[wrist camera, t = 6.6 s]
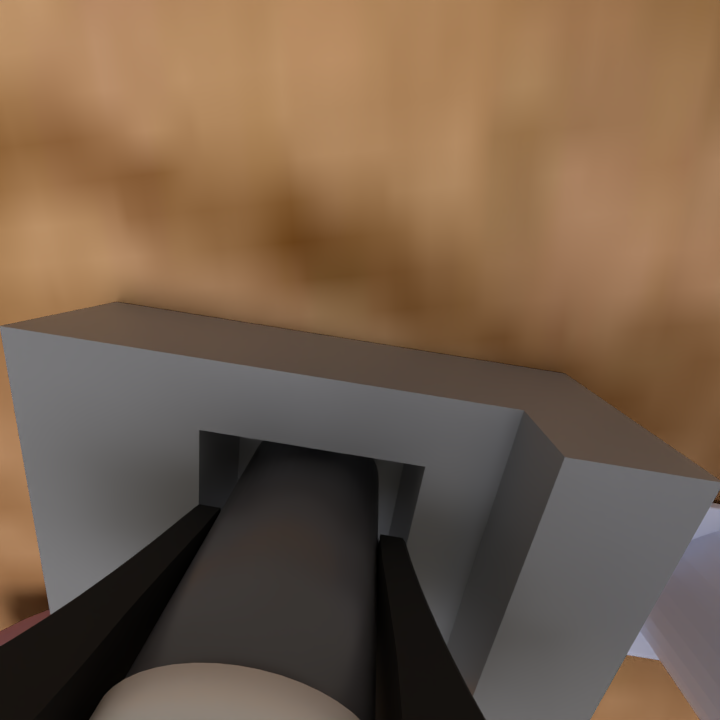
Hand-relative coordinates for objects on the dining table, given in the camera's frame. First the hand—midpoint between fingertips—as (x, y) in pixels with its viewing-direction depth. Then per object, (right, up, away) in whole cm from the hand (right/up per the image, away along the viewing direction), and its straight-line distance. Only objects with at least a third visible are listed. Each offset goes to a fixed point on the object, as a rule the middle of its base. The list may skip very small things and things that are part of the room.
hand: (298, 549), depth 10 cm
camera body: (0, +1, +4) cm, 4 cm away
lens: (0, +1, +2) cm, 3 cm away
